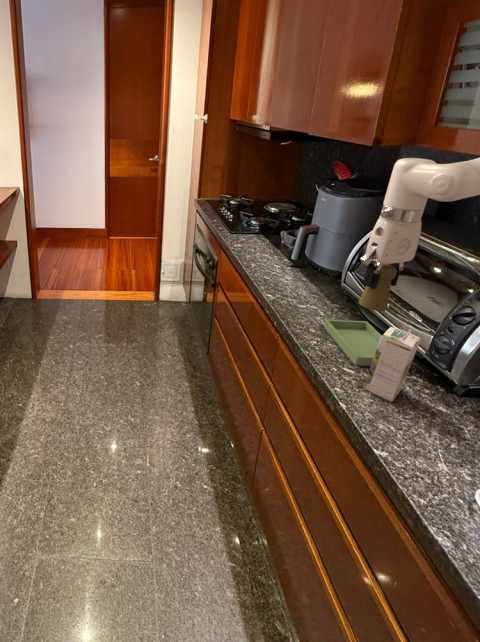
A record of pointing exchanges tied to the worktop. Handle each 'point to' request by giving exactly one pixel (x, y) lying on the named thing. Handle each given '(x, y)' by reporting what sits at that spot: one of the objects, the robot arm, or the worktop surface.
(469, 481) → the worktop surface
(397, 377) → the syrup box
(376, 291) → the cork
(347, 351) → the spice tray
